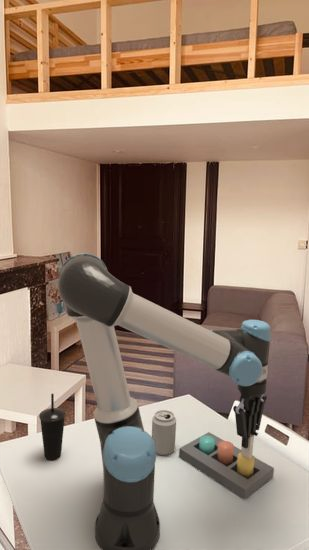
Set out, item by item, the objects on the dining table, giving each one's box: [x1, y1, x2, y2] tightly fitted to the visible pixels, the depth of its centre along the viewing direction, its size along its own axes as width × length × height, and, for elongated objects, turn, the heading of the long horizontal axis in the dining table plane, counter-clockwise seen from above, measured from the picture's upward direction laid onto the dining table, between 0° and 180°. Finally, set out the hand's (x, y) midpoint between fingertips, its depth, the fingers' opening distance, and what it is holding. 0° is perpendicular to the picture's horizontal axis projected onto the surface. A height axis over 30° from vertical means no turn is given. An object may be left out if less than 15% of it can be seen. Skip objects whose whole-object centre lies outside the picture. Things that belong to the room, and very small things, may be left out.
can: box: [151, 409, 177, 456], centre depth 126 cm, size 8×8×12 cm
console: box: [178, 431, 275, 501], centre depth 119 cm, size 14×24×3 cm, turn 43°
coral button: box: [217, 440, 235, 466], centre depth 119 cm, size 5×5×5 cm
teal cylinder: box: [199, 434, 215, 455], centre depth 124 cm, size 5×5×5 cm
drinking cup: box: [38, 393, 67, 462], centre depth 120 cm, size 8×8×20 cm
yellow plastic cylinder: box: [237, 453, 255, 478], centre depth 114 cm, size 5×5×5 cm
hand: (246, 456), depth 113 cm, fingers closed
